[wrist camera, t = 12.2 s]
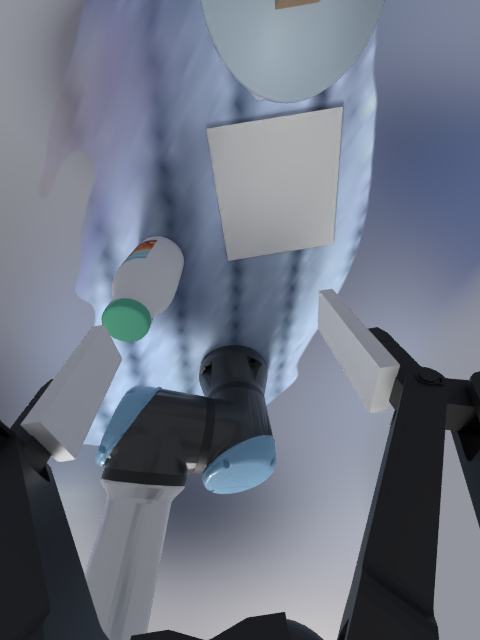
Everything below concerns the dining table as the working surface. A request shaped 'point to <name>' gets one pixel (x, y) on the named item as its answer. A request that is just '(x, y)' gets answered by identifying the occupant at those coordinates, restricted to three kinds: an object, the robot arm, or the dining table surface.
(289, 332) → the dining table surface
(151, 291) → the milk bottle
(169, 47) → the dining table surface
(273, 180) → the mat
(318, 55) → the lid
